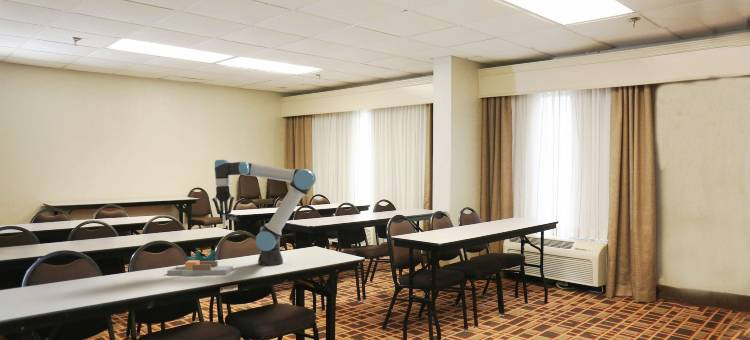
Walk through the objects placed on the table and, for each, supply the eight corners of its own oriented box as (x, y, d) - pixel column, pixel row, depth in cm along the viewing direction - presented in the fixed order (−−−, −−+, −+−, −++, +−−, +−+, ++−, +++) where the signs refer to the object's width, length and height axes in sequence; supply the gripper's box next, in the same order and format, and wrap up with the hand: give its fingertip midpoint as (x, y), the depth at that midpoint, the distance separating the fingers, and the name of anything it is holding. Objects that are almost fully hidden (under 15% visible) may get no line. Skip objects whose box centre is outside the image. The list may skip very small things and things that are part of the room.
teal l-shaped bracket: (214, 268, 316) (215, 251, 316) (196, 269, 309) (197, 251, 310) (203, 264, 330) (205, 247, 331) (186, 265, 324) (187, 248, 324)
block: (199, 267, 304) (199, 260, 304) (195, 269, 298) (195, 262, 298) (189, 267, 305) (189, 260, 305) (185, 269, 299) (185, 262, 299)
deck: (232, 270, 307) (232, 260, 306) (226, 274, 295) (225, 264, 294) (176, 270, 308) (176, 261, 308) (167, 275, 296) (167, 265, 296)
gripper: (235, 184, 314) (237, 224, 314) (213, 186, 314) (215, 225, 314) (231, 185, 307) (234, 226, 307) (209, 186, 307) (212, 227, 307)
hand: (225, 225), depth 311 cm, fingers closed
